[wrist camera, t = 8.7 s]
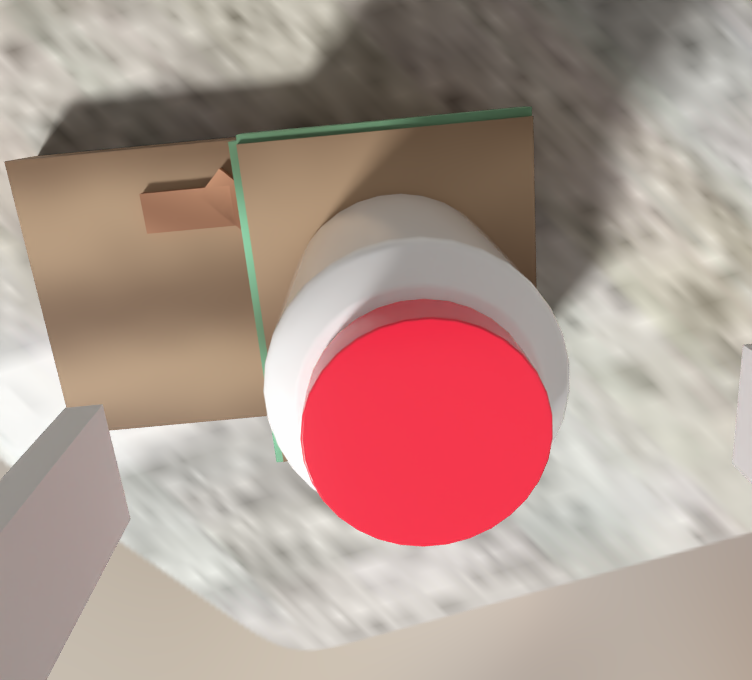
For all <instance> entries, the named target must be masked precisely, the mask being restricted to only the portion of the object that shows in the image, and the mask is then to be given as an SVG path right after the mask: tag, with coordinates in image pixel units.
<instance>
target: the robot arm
mask: <svg viewBox="0 0 752 680" xmlns="http://www.w3.org/2000/svg"><path fill="white" fill-rule="evenodd" d="M732 464H733V465H734V466H735V467H736V468H737V469H738V470H739V471H740V472H741V473H742V474H743V475H744V476H745V477H746V478H747V479H748V480H749V481H750V482H751V483H752V344H747V345H743V351H742V362H741V373H740V384H739V394H738V405H737V416H736V427H735V438H734V449H733V459H732ZM129 521H130V515H129V511H128V507H127V502H126V498H125V494H124V490H123V486H122V482H121V478H120V474H119V470H118V466H117V461H116V457H115V453H114V449H113V445H112V441H111V437H110V433H109V429H108V425H107V420H106V416H105V412H104V408H103V404H101V405H90V406H79V407H68V408H65V409H64V410H63V411H62V412H61V413H60V414H59V415H58V417H57V418H56V419H55V420H54V421H53V422H52V423H51V424H50V425H49V427H48V428H47V429H46V430H45V431H44V432H43V433H42V434H41V435H40V436H39V438H38V439H37V440H36V441H35V442H34V443H33V444H32V445H31V446H30V448H29V449H28V450H27V451H26V452H25V453H24V454H23V455H22V456H21V458H20V459H19V460H18V461H17V462H16V463H15V464H14V465H13V466H12V467H11V469H10V470H9V471H8V472H7V473H6V474H5V475H4V476H3V478H2V479H1V480H0V680H47V678H48V676H49V674H50V672H51V670H52V668H53V666H54V664H55V662H56V661H57V659H58V657H59V655H60V653H61V651H62V649H63V647H64V645H65V643H66V641H67V639H68V637H69V636H70V634H71V632H72V630H73V628H74V626H75V624H76V622H77V620H78V618H79V616H80V615H81V613H82V611H83V609H84V607H85V605H86V603H87V601H88V599H89V597H90V595H91V594H92V592H93V590H94V588H95V586H96V584H97V582H98V580H99V578H100V576H101V574H102V572H103V570H104V569H105V567H106V565H107V563H108V561H109V559H110V557H111V555H112V553H113V551H114V549H115V547H116V545H117V544H118V542H119V540H120V538H121V536H122V534H123V532H124V530H125V528H126V526H127V525H128V523H129Z"/></svg>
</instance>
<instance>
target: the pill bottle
mask: <svg viewBox="0 0 752 680" xmlns="http://www.w3.org/2000/svg"><path fill="white" fill-rule="evenodd" d="M263 392H264V398H265V405H266V411H267V417H268V421H269V423H270V426H271V428H272V431H273V434H274V436H275V439H276V441H277V444H278V446H279V448H280V449H281V451H282V453H283V454H284V456H285V457H286V459H287V460H288V462H289V463H290V465H291V467H292V468H293V469H294V470H295V471H296V472H297V474H298V475H299V476H300V477H301V478H302V479H303V480H304V481H305V482H306V483H307V484H308V485H309V486H310V487H311V488H312V489H314V490H315V491H316V492H318V493H319V495H320V496H321V498H322V500H323V501H324V502H325V503H326V504H327V505H328V506H329V507H330V508H331V509H332V510H333V511H334V512H335V513H336V515H337V516H338V517H340V518H341V519H342V520H344V521H345V522H347V523H348V524H350V525H351V526H353V527H354V528H355V529H357V530H359V531H361V532H363V533H366V534H368V535H370V536H372V537H374V538H377V539H379V540H383V541H387V542H392V543H396V544H400V545H410V546H434V545H445V544H450V543H454V542H458V541H461V540H465V539H469V538H471V537H474V536H476V535H478V534H480V533H482V532H484V531H487V530H489V529H491V528H492V527H494V526H495V525H497V524H498V523H500V522H501V521H503V520H504V519H506V518H507V517H508V516H510V515H511V514H512V513H513V512H514V511H515V510H516V509H517V508H518V507H519V506H520V505H521V504H522V503H523V502H524V501H525V500H526V499H527V498H528V496H529V495H530V493H531V492H532V490H533V489H534V488H535V486H536V485H537V483H538V482H539V480H540V478H541V476H542V473H543V471H544V469H545V466H546V464H547V462H548V459H549V454H550V449H551V446H552V445H553V443H554V440H555V438H556V436H557V433H558V431H559V429H560V426H561V424H562V422H563V419H564V415H565V410H566V405H567V400H568V396H569V359H568V354H567V350H566V345H565V341H564V336H563V333H562V331H561V329H560V326H559V324H558V322H557V320H556V318H555V316H554V314H553V311H552V309H551V307H550V306H549V305H548V303H547V302H546V301H545V300H544V298H543V297H542V296H541V294H540V293H539V292H538V290H537V289H536V288H535V286H534V285H533V284H532V282H531V281H530V280H529V279H528V278H527V277H526V276H525V275H524V274H523V273H522V272H521V271H520V270H519V269H518V268H517V267H516V266H515V265H514V263H513V262H512V261H511V260H510V259H509V258H508V257H507V256H506V255H505V254H504V253H503V252H502V251H501V250H500V249H499V248H498V247H497V246H496V245H495V243H494V242H493V241H492V240H491V239H490V238H489V237H488V236H487V235H486V234H485V233H484V232H483V231H482V230H481V229H480V228H479V227H478V226H477V225H476V224H475V223H474V222H472V221H471V220H470V219H469V218H468V217H467V216H465V215H464V214H463V213H462V212H460V211H458V210H456V209H455V208H453V207H451V206H449V205H447V204H446V203H444V202H441V201H438V200H435V199H431V198H428V197H425V196H421V195H411V194H401V193H400V194H390V195H379V196H376V197H372V198H369V199H366V200H362V201H359V202H357V203H355V204H353V205H351V206H349V207H347V208H345V209H344V210H342V211H340V212H338V213H337V214H336V215H335V216H333V217H332V218H331V219H330V220H329V221H327V222H326V223H325V224H324V225H322V226H321V228H320V229H319V230H318V231H317V233H316V234H315V235H314V236H313V238H312V239H311V240H310V241H309V243H308V244H307V246H306V248H305V250H304V252H303V254H302V256H301V258H300V260H299V262H298V264H297V267H296V270H295V273H294V275H293V278H292V281H291V284H290V287H289V289H288V292H287V295H286V298H285V301H284V303H283V306H282V309H281V312H280V315H279V317H278V320H277V323H276V326H275V329H274V331H273V335H272V339H271V342H270V346H269V349H268V353H267V357H266V360H265V371H264V388H263Z"/></svg>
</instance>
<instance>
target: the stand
mask: <svg viewBox="0 0 752 680" xmlns="http://www.w3.org/2000/svg"><path fill="white" fill-rule="evenodd" d="M5 166H6V170H7V174H8V178H9V182H10V186H11V190H12V194H13V198H14V202H15V206H16V210H17V213H18V217H19V221H20V225H21V229H22V233H23V237H24V241H25V245H26V249H27V253H28V257H29V261H30V265H31V269H32V273H33V277H34V281H35V285H36V289H37V293H38V297H39V301H40V305H41V309H42V312H43V316H44V320H45V324H46V328H47V332H48V336H49V340H50V344H51V348H52V352H53V356H54V360H55V364H56V368H57V372H58V376H59V380H60V384H61V388H62V392H63V396H64V400H65V404H66V408H68V407H79V406H90V405H101V404H103V408H104V412H105V416H106V420H107V425H108V429H109V430H119V429H130V428H141V427H152V426H163V425H173V424H184V423H195V422H206V421H217V420H228V419H238V418H249V417H260V416H267V411H266V405H265V398H264V392H263V388H264V371H265V360H266V357H267V353H268V349H269V346H270V342H271V339H272V335H273V331H274V329H275V326H276V323H277V320H278V317H279V315H280V312H281V309H282V306H283V303H284V301H285V298H286V295H287V292H288V289H289V287H290V284H291V281H292V278H293V275H294V273H295V270H296V267H297V264H298V262H299V260H300V258H301V256H302V254H303V252H304V250H305V248H306V246H307V244H308V243H309V241H310V240H311V239H312V238H313V236H314V235H315V234H316V233H317V231H318V230H319V229H320V228H321V226H322V225H324V224H325V223H326V222H327V221H329V220H330V219H331V218H332V217H333V216H335V215H336V214H337V213H338V212H340V211H342V210H344V209H345V208H347V207H349V206H351V205H353V204H355V203H357V202H359V201H362V200H366V199H369V198H372V197H376V196H379V195H390V194H400V193H401V194H411V195H421V196H425V197H428V198H431V199H435V200H438V201H441V202H444V203H446V204H447V205H449V206H451V207H453V208H455V209H456V210H458V211H460V212H462V213H463V214H464V215H465V216H467V217H468V218H469V219H470V220H471V221H472V222H474V223H475V224H476V225H477V226H478V227H479V228H480V229H481V230H482V231H483V232H484V233H485V234H486V235H487V236H488V237H489V238H490V239H491V240H492V241H493V242H494V243H495V245H496V246H497V247H498V248H499V249H500V250H501V251H502V252H503V253H504V254H505V255H506V256H507V257H508V258H509V259H510V260H511V261H512V262H513V263H514V265H515V266H516V267H517V268H518V269H519V270H520V271H521V272H522V273H523V274H524V275H525V276H526V277H527V278H528V279H529V280H530V281H531V282H532V284H533V285H534V286H535V288H536V242H535V187H534V132H533V116H532V107H525V106H523V107H513V108H502V109H492V110H481V111H471V112H460V113H450V114H439V115H429V116H418V117H408V118H398V119H387V120H377V121H366V122H356V123H345V124H335V125H324V126H314V127H303V128H293V129H282V130H272V131H261V132H251V133H241V134H237V135H236V137H231V138H221V139H210V140H200V141H189V142H179V143H168V144H158V145H147V146H137V147H126V148H116V149H105V150H95V151H84V152H74V153H63V154H53V155H42V156H34V157H28V158H23V159H17V160H11V161H5ZM272 435H273V441H274V448H275V454H276V461H277V462H285V461H288V460H287V459H286V457H285V456H284V454H283V453H282V451H281V449H280V448H279V446H278V444H277V441H276V439H275V436H274V434H273V431H272Z"/></svg>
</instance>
